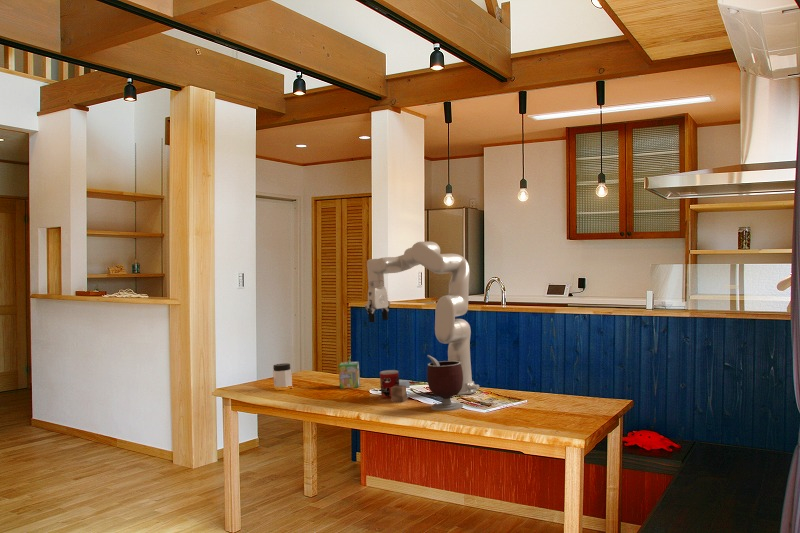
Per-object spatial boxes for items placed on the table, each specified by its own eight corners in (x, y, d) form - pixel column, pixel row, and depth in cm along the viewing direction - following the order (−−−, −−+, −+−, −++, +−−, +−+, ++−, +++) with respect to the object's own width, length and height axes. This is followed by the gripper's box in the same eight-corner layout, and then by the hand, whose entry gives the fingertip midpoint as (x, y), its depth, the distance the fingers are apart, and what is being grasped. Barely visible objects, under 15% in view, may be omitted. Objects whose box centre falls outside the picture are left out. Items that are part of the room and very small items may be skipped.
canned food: (378, 396, 291) (377, 371, 291) (395, 394, 294) (393, 369, 294) (385, 399, 284) (384, 373, 284) (402, 396, 287) (401, 371, 287)
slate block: (409, 391, 298) (409, 380, 298) (399, 394, 295) (398, 382, 295) (401, 390, 303) (400, 379, 303) (391, 392, 299) (390, 381, 299)
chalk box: (341, 385, 326) (339, 355, 326) (360, 384, 326) (358, 354, 326) (339, 389, 317) (337, 358, 317) (358, 388, 316) (356, 356, 316)
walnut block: (407, 399, 280) (406, 385, 280) (403, 402, 276) (402, 387, 276) (395, 399, 282) (394, 385, 282) (391, 402, 277) (390, 387, 277)
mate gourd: (472, 405, 260) (468, 354, 260) (448, 412, 250) (445, 359, 250) (442, 401, 271) (439, 352, 271) (418, 408, 261) (415, 357, 261)
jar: (272, 389, 330) (270, 364, 330) (288, 386, 334) (286, 362, 334) (278, 391, 322) (276, 366, 322) (294, 389, 326) (292, 364, 326)
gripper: (370, 285, 307) (373, 322, 307) (393, 283, 321) (396, 319, 321) (358, 286, 312) (360, 323, 312) (381, 284, 326) (384, 319, 325)
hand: (378, 321), depth 316 cm, fingers open, 9 cm apart
